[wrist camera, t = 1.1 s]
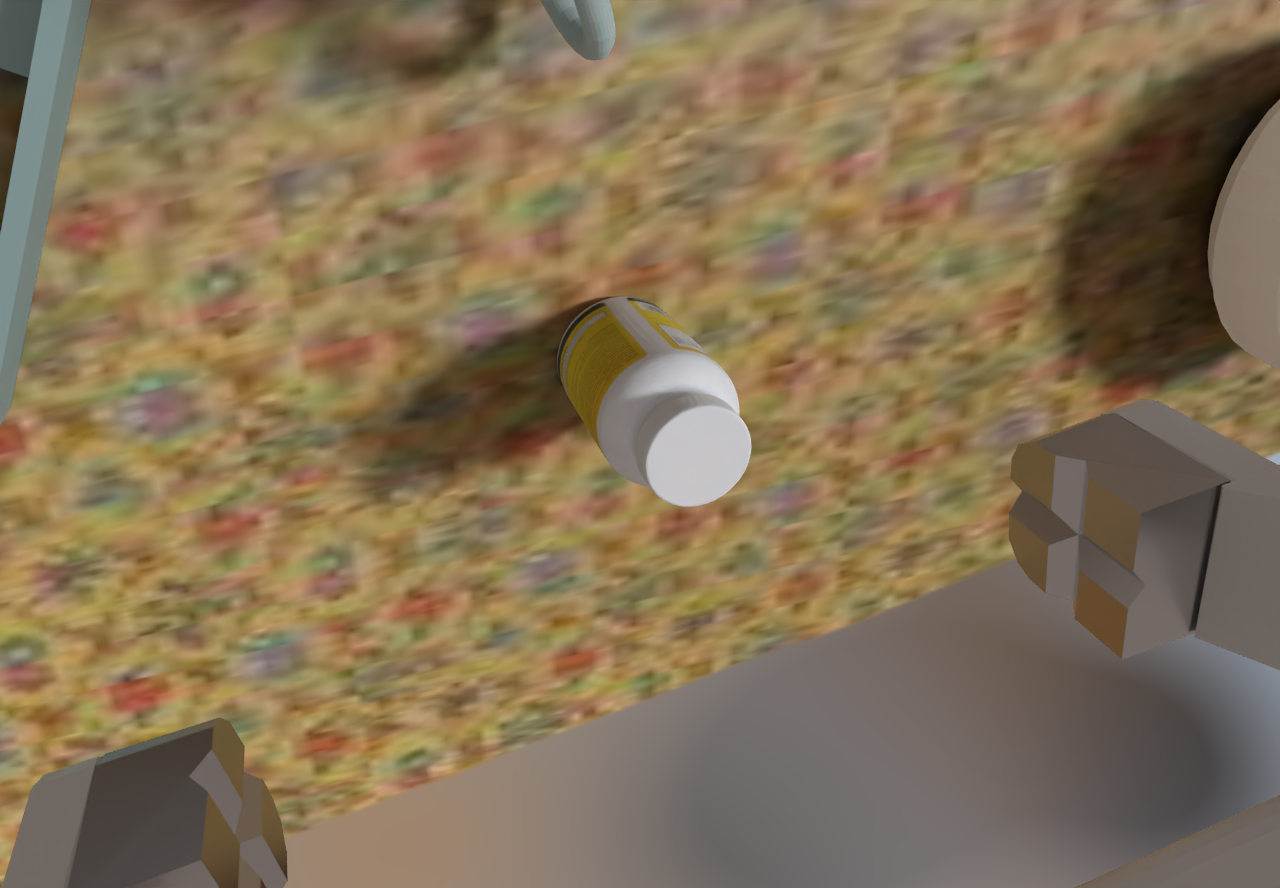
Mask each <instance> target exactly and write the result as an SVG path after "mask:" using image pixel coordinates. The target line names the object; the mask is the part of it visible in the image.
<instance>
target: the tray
mask: <svg viewBox="0 0 1280 888" xmlns="http://www.w3.org/2000/svg"><path fill="white" fill-rule="evenodd" d="M91 1H92V0H0V68H1V69H4V70H7V71H10V72H13V73H16V74H19V75H22V76H24V77H27V78H29V79H28V85H27V90H26V96H25V101H24V106H23V112H22V117H21V123H20V128H19V134H18V139H17V145H16V150H15V156H14V161H13V167H12V172H11V178H10V183H9V189H8V194H7V200H6V205H5V211H4V216H3V222H2V227H1V233H0V425H1V423H2V421H3V419H4V418H5V416H6V414H7V413H8V411H9V409H10V407H11V403H12V398H13V393H14V388H15V383H16V378H17V373H18V368H19V363H20V358H21V353H22V348H23V343H24V338H25V333H26V328H27V323H28V318H29V313H30V308H31V303H32V298H33V293H34V287H35V282H36V277H37V272H38V267H39V262H40V257H41V252H42V247H43V242H44V237H45V232H46V227H47V222H48V217H49V212H50V207H51V202H52V197H53V192H54V187H55V182H56V177H57V172H58V167H59V162H60V157H61V152H62V147H63V141H64V136H65V131H66V126H67V121H68V116H69V111H70V106H71V101H72V96H73V91H74V86H75V81H76V76H77V71H78V66H79V61H80V56H81V51H82V46H83V41H84V36H85V31H86V26H87V21H88V16H89V11H90V6H91Z"/></svg>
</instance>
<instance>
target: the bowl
mask: <svg viewBox="0 0 1280 888" xmlns="http://www.w3.org/2000/svg"><path fill="white" fill-rule="evenodd" d="M1208 266H1209V278H1210V281H1211V285H1212V288H1213V294H1214V301H1215V304H1216V308H1217V311H1218V314H1219V317H1220V321H1221V323H1222V325H1223V326H1224V328H1225V329H1226V331H1227V332H1228V334H1229V336H1230V337H1231V339H1232V340H1233V341H1234V342H1235V343H1236V344H1238V345H1239V346H1240V347H1241V348H1243V349H1244V350H1245V351H1246V352H1248V353H1249V354H1251V355H1252V356H1254V357H1256V358H1258V359H1260V360H1261V361H1263V362H1265V363H1267V364H1269V365H1271V366H1272V367H1274V368H1276V369H1278V370H1280V99H1279V101H1278V102H1277V103H1276V104H1275V105H1274V106H1273V107H1272V108H1271V109H1270V110H1269V111H1268V112H1267V113H1266V115H1265V116H1264V117H1263V119H1262V120H1261V121H1260V123H1259V124H1258V125H1257V127H1256V128H1255V129H1254V131H1253V132H1252V133H1251V135H1250V136H1249V137H1248V139H1247V140H1246V142H1245V144H1244V146H1243V147H1242V149H1241V151H1240V153H1239V154H1238V156H1237V158H1236V160H1235V161H1234V163H1233V165H1232V167H1231V169H1230V171H1229V173H1228V176H1227V178H1226V181H1225V183H1224V185H1223V188H1222V190H1221V192H1220V195H1219V197H1218V201H1217V204H1216V208H1215V212H1214V216H1213V219H1212V223H1211V227H1210V236H1209V245H1208Z"/></svg>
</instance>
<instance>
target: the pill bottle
mask: <svg viewBox="0 0 1280 888" xmlns="http://www.w3.org/2000/svg"><path fill="white" fill-rule="evenodd" d="M557 370H558V375H559V379H560V382H561V385H562V387H563V389H564V391H565V393H566V394H567V396H568V398H569V399H570V401H571V403H572V404H573V406H574V408H575V409H576V411H577V412H578V414H579V416H580V417H581V419H582V421H583V422H584V424H585V425H586V427H587V428H588V430H589V432H590V433H591V435H592V437H593V438H594V440H595V441H596V443H597V445H598V446H599V448H600V450H601V451H602V453H603V455H604V456H605V458H606V459H607V460H608V462H609V463H610V465H611V466H612V467H613V468H614V469H615V470H616V471H617V472H618V473H619V474H620V475H622V476H623V477H625V478H626V479H628V480H630V481H632V482H634V483H636V484H639V485H643V486H647V487H650V488H651V489H652V491H653V492H654V493H655V494H656V495H657V496H658V497H660V498H661V499H662V500H664V501H666V502H668V503H670V504H674V505H678V506H687V507H690V506H698V505H703V504H706V503H709V502H711V501H714V500H716V499H717V498H719V497H721V496H722V495H724V494H725V493H727V492H728V491H729V490H730V489H731V488H732V487H733V486H734V485H735V484H736V483H737V482H738V481H739V479H740V478H741V476H742V475H743V473H744V471H745V469H746V467H747V465H748V462H749V458H750V455H751V438H750V434H749V431H748V429H747V427H746V425H745V423H744V422H743V420H742V419H741V418H740V416H739V402H738V397H737V393H736V390H735V387H734V385H733V383H732V381H731V379H730V378H729V376H728V375H727V374H726V372H725V371H724V370H723V369H722V368H721V367H720V366H719V364H718V363H717V362H716V361H714V360H713V359H712V358H711V357H710V356H709V355H708V354H707V353H706V352H705V351H704V350H703V349H702V348H701V347H700V346H699V345H698V344H697V343H696V342H695V341H694V340H693V339H692V338H691V337H690V336H689V335H688V334H687V333H686V332H685V331H684V330H683V329H682V328H681V327H680V326H679V325H678V324H677V323H676V322H675V321H674V320H673V319H672V318H671V317H669V316H668V315H667V314H666V313H665V312H664V311H663V310H661V309H660V308H659V307H657V306H656V305H654V304H652V303H651V302H648V301H646V300H643V299H640V298H636V297H626V296H622V297H613V298H608V299H605V300H602V301H599V302H597V303H595V304H593V305H591V306H589V307H588V308H586V309H585V310H584V311H583V312H581V313H580V314H579V315H578V316H577V317H576V318H575V319H574V320H573V321H572V322H571V324H570V325H569V326H568V328H567V330H566V331H565V333H564V335H563V337H562V339H561V342H560V345H559V349H558V355H557Z"/></svg>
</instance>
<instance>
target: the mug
mask: <svg viewBox="0 0 1280 888" xmlns="http://www.w3.org/2000/svg"><path fill="white" fill-rule="evenodd" d="M541 2H542V4H543V6H544V7H545V9H546V11H547V13H548V14H549V16H550V18H551V19H552V21H553V22H554V24H555V26H556V27H557V29H558V30H559V32H560V33H561V34H562V36H563V37H564V39H565V40H566V41H567V42H568V44H569V45H570V46H571V47H572V48H573V49H574V50H575V51H576V52H577V53H578V54H579V55H581V56H582V57H584V58H585V59H587V60H601V59H604V58H605V57H607V56H608V55H609V53H610V52H611V50H612V47H613V45H614V43H615V22H614V17H613V12H612V7H611V3H610V0H541Z"/></svg>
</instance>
